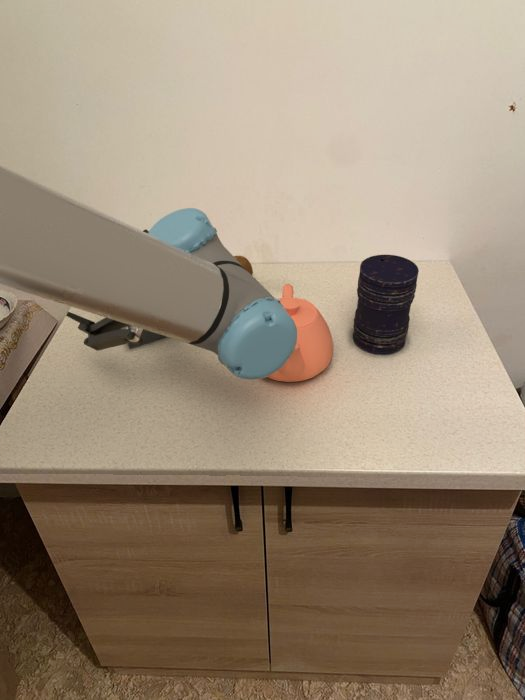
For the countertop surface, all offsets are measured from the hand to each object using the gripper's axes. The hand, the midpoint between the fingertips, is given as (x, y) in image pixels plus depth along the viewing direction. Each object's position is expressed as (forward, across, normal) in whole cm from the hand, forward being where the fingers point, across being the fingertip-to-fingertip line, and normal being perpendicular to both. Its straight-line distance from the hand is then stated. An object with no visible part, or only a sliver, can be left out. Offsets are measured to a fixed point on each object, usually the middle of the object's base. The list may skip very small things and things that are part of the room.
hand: (93, 280), depth 83 cm
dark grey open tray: (+7, +2, -19) cm, 21 cm away
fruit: (-1, +15, -31) cm, 35 cm away
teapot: (-25, +2, -26) cm, 36 cm away
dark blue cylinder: (-34, +14, -37) cm, 52 cm away
